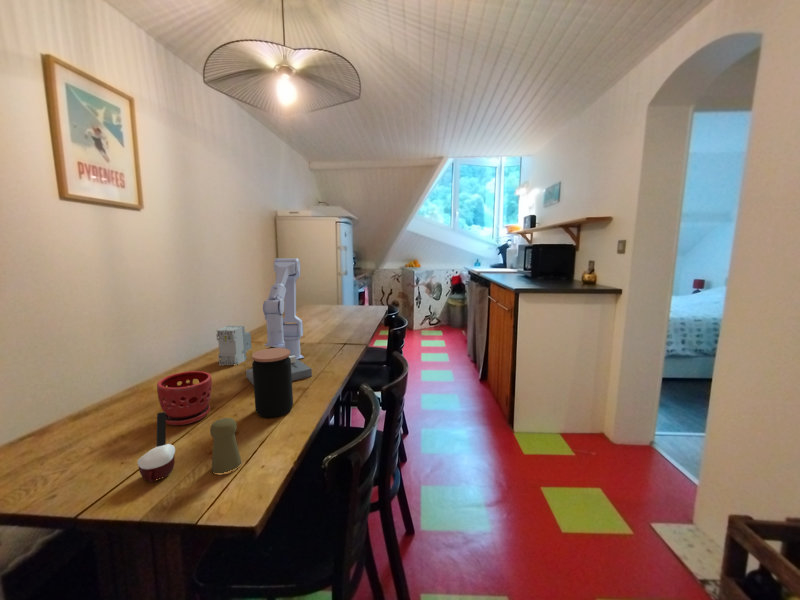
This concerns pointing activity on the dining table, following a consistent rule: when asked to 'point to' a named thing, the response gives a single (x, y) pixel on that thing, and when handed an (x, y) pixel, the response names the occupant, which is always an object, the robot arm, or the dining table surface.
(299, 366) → the grey slider panel
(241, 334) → the circuit breaker
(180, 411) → the plant pot
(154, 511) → the dining table surface
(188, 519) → the dining table surface
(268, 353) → the coffee jar
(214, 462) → the cork
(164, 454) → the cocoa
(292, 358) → the paddle
